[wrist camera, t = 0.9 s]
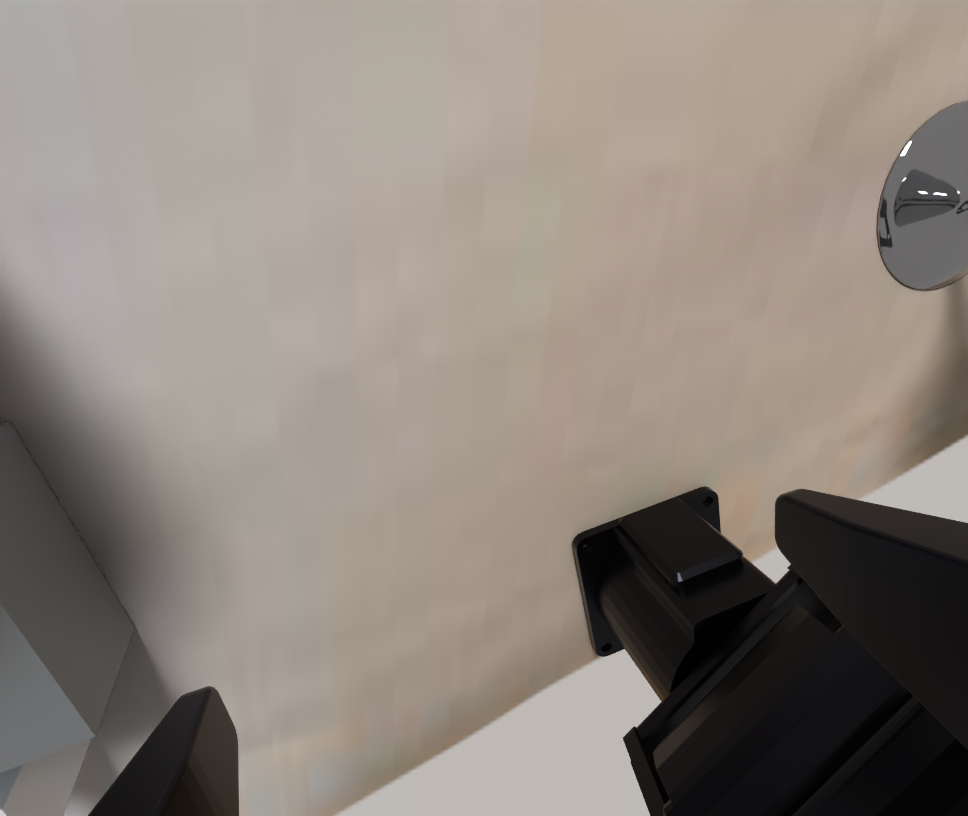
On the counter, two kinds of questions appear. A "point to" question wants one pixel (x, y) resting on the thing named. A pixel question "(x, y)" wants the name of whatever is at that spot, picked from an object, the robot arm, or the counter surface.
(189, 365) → the counter surface
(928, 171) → the wine glass
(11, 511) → the sliding door box
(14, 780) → the side door
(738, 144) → the counter surface
